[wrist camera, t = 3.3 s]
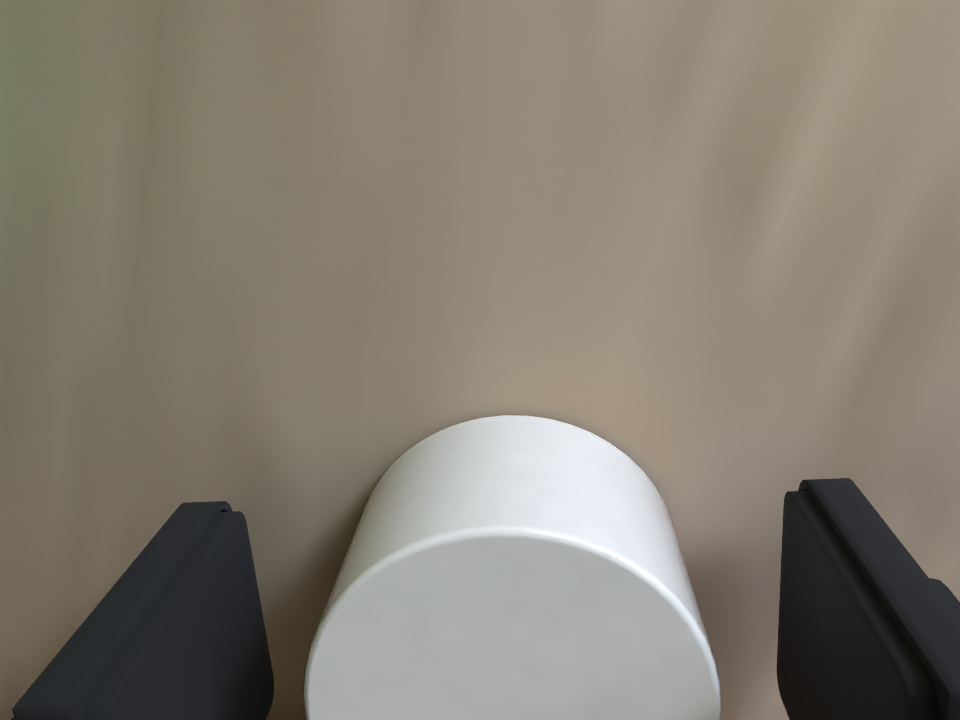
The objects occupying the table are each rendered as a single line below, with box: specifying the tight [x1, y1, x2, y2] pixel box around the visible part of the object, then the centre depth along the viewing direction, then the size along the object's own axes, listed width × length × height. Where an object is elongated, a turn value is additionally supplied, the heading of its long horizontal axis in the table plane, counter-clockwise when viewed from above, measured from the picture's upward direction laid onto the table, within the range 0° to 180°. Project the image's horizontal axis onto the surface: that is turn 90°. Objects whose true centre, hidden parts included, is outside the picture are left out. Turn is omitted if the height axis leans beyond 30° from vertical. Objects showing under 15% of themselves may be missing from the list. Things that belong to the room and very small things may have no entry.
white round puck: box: [303, 415, 721, 720], centre depth 10 cm, size 4×4×3 cm
